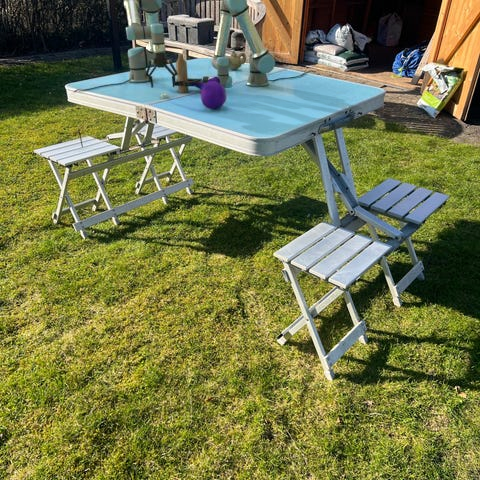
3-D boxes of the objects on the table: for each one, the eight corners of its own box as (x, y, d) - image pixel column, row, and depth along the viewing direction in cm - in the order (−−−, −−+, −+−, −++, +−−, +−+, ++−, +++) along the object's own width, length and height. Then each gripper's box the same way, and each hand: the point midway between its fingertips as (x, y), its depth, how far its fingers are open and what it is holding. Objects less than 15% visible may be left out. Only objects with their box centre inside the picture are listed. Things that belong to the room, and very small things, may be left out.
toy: (213, 100, 281) (226, 115, 260) (186, 95, 274) (197, 111, 253) (219, 74, 273) (233, 88, 252) (191, 69, 266) (203, 83, 245)
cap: (159, 97, 291) (159, 94, 290) (165, 96, 293) (164, 93, 292) (162, 98, 288) (162, 95, 287) (168, 97, 291) (168, 94, 290)
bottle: (190, 91, 306) (188, 54, 294) (183, 93, 301) (180, 55, 289) (183, 90, 310) (180, 53, 298) (176, 92, 305) (172, 54, 293)
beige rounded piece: (226, 72, 363) (226, 52, 355) (220, 70, 372) (219, 50, 364) (249, 69, 372) (249, 50, 365) (242, 67, 381) (241, 48, 373)
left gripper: (138, 52, 273) (142, 88, 284) (179, 52, 274) (181, 87, 285) (140, 50, 280) (144, 86, 291) (180, 50, 280) (182, 85, 291)
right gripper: (207, 91, 294) (172, 91, 296) (211, 85, 311) (179, 85, 313) (206, 79, 290) (171, 79, 292) (211, 73, 307) (178, 73, 309)
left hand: (163, 87), depth 288 cm, fingers open, 13 cm apart
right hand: (175, 82), depth 303 cm, fingers closed on bottle, 7 cm apart
